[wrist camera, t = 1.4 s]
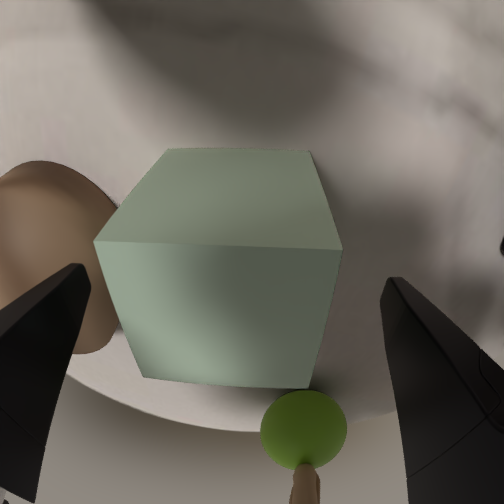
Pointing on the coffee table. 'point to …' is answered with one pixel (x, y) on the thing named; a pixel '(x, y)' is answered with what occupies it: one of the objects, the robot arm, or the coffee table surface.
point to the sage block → (224, 267)
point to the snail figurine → (303, 438)
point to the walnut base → (55, 239)
